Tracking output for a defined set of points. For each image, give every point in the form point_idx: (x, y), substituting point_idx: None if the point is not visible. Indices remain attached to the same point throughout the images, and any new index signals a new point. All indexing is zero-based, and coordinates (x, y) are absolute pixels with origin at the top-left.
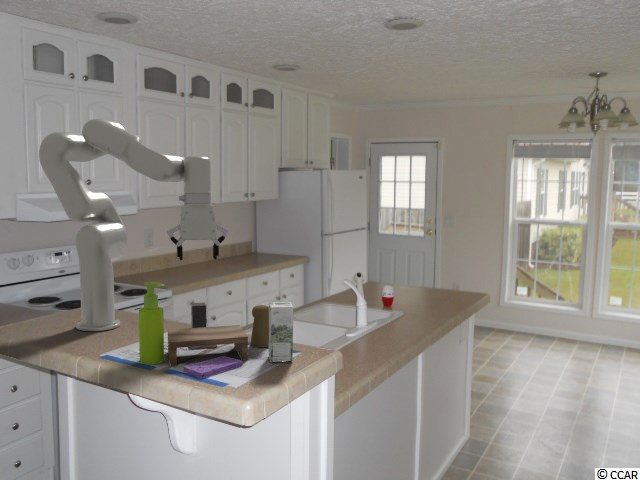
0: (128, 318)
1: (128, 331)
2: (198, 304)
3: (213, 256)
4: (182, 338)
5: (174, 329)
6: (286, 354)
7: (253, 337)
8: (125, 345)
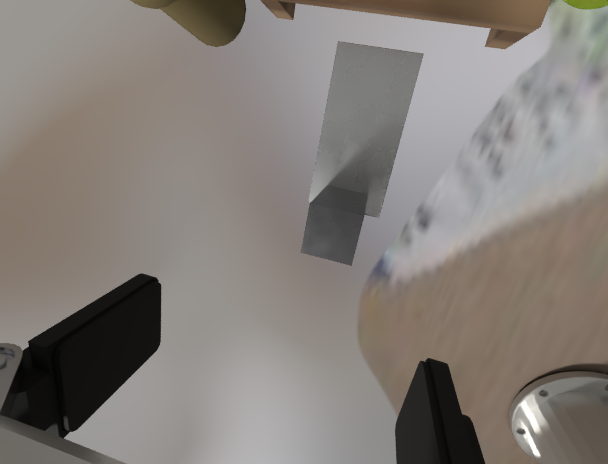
0: None
1: (517, 331)
2: (332, 231)
3: (151, 328)
4: None
5: (512, 17)
6: None
7: None
8: (597, 191)
